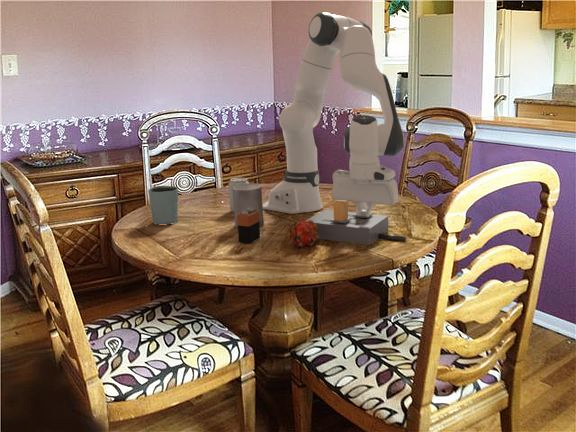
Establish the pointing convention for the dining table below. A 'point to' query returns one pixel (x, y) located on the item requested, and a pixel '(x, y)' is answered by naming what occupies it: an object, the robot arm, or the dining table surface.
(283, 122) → the robot arm
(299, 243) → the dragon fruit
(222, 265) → the dining table surface
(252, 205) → the pillar candle
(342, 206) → the orange block
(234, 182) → the can
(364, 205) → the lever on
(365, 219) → the breaker strip
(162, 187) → the grey bin
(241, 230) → the battery
